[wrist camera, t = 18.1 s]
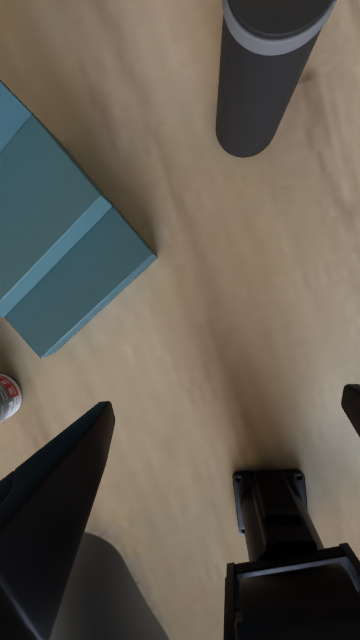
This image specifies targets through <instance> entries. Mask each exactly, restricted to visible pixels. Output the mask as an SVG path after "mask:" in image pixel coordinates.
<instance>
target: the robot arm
mask: <svg viewBox="0 0 360 640" xmlns="http://www.w3.org/2000/svg"><path fill="white" fill-rule="evenodd" d="M341 405H342V408H343V410H344V412H345V413H346V415H347V417H348V418H349V420H350V422H351V423H352V425H353V427H354V428H355V430H356V432H357V433H358V435H359V437H360V385H359V384H347V385H345V386H344V389H343V395H342V401H341ZM114 425H115V416H114V412H113V408H112V404H111V402H109V401H103V402H99V403H98V404H96V405H95V406H94V407H93V408H91V409H90V410H89V411H88V412H86V413H85V414H84V415H83V416H81V417H80V418H79V419H77V420H76V421H75V422H74V423H72V424H71V425H70V426H69V427H67V428H66V429H65V430H64V431H62V432H61V433H60V434H59V435H57V436H56V437H55V438H54V439H52V440H51V441H50V442H49V443H47V444H46V445H45V446H44V447H42V448H41V449H40V450H39V451H37V452H36V453H35V454H34V455H32V456H31V457H30V458H29V459H27V460H26V461H25V462H24V463H22V464H21V465H20V466H18V467H17V468H16V469H15V471H12V472H11V473H10V474H8V475H7V476H6V477H5V478H3V479H2V480H1V481H0V640H49V639H50V636H51V633H52V630H53V627H54V624H55V621H56V618H57V615H58V611H59V608H60V605H61V602H62V599H63V596H64V593H65V590H66V586H67V583H68V580H69V577H70V574H71V571H72V568H73V565H74V562H75V559H76V556H77V553H78V549H79V546H80V543H81V540H82V537H83V534H84V531H85V528H86V525H87V522H88V518H89V515H90V512H91V509H92V506H93V503H94V500H95V497H96V494H97V491H98V487H99V484H100V481H101V478H102V475H103V472H104V469H105V465H106V462H107V458H108V453H109V448H110V444H111V439H112V434H113V430H114ZM298 475H300V476H299V477H297V476H298ZM232 477H233V485H234V494H235V502H236V510H237V519H238V527H239V532H240V534H242V535H245V537H246V543H247V549H248V555H249V561H250V562H244V563H239V564H234V563H228V564H227V577H225V606H224V640H360V561H359V560H358V558H357V557H356V555H355V554H354V552H353V551H352V549H351V548H350V546H349V545H348V543H343V544H339V546H337V547H331V548H324V546H323V544H322V542H321V540H320V537H319V535H318V533H317V531H316V529H315V527H314V525H313V522H312V520H311V518H310V516H309V514H308V510H307V498H306V486H305V476H304V474H303V472H302V471H301V470H297V469H295V470H268V471H241V472H235V473H233V476H232ZM237 477H239V479H237Z"/></svg>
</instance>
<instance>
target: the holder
mask: <svg viewBox="0 0 360 640" xmlns="http://www.w3.org/2000/svg"><path fill="white" fill-rule="evenodd" d="M335 3H336V0H222V6H223V25H222V41H221V56H220V71H219V86H218V101H217V116H216V135H217V139H218V141H219V143H220V145H221V146H222V148H223V149H224V150H225V151H226V152H228V153H229V154H231V155H233V156H236V157H250V156H254V155H256V154H258V153H259V152H261V151H262V150H264V149H265V148H266V147H267V146H268V145H269V143H270V142H271V140H272V139H273V137H274V134H275V132H276V130H277V128H278V125H279V123H280V121H281V119H282V116H283V114H284V112H285V110H286V107H287V105H288V103H289V101H290V98H291V96H292V94H293V92H294V89H295V87H296V85H297V83H298V80H299V78H300V76H301V73H302V71H303V69H304V67H305V64H306V62H307V60H308V58H309V55H310V53H311V51H312V49H313V46H314V44H315V42H316V40H317V37H318V35H319V33H320V31H321V28H322V26H323V25H324V24H325V22H326V21H327V19H328V17H329V15H330V14H331V11H332V9H333V7H334V5H335Z"/></svg>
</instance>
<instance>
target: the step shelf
mask: <svg viewBox="0 0 360 640" xmlns="http://www.w3.org/2000/svg"><path fill="white" fill-rule="evenodd" d="M157 258H158V257H157V255H156V254H155V253H154V252H153V251H152V249H151V248H150V247H149V246H148V245H147V244H146V242H145V241H144V240H143V239H142V238H141V237H140V235H139V234H138V233H137V232H136V231H135V229H134V228H133V227H132V226H131V225H130V224H129V222H128V221H127V220H126V219H125V218H124V216H123V215H122V214H121V213H120V212H119V211H118V209H117V208H116V207H115V206H114V205H113V204H112V202H111V201H110V200H109V199H108V198H107V196H106V195H105V194H104V193H103V192H102V191H101V189H100V188H99V187H98V186H97V185H96V184H95V182H94V181H93V180H92V179H91V178H90V176H89V175H88V174H87V173H86V172H85V171H84V169H83V168H82V167H81V166H80V165H79V163H78V162H77V161H76V160H75V159H74V158H73V156H72V155H71V154H70V153H69V152H68V151H67V149H66V148H65V147H64V146H63V145H62V143H61V142H60V141H59V140H58V139H57V138H56V137H55V136H54V135H53V134H52V133H51V132H50V131H49V130H48V129H47V128H46V127H45V126H44V125H43V124H42V123H41V122H40V120H39V119H38V118H37V117H36V116H35V115H34V114H33V113H32V112H31V111H30V110H29V109H28V108H27V107H26V106H25V105H24V104H23V103H22V102H21V101H20V100H19V99H18V98H17V97H16V96H15V95H14V94H13V93H12V92H11V90H10V89H9V88H8V87H7V86H6V85H5V84H4V83H3V82H2V81H1V80H0V317H5V319H6V320H7V321H8V322H9V323H10V324H11V325H12V326H13V328H14V329H15V330H16V331H17V332H18V333H19V334H20V336H21V337H22V338H23V339H24V340H25V341H26V342H27V344H28V345H29V346H30V347H31V348H32V349H33V350H34V352H35V353H36V354H37V355H38V356H39V357H40V358H43V357H46V356H48V355H51V354H53V353H55V352H56V351H57V350H58V349H60V348H61V347H62V346H63V345H64V344H65V343H66V342H67V341H68V340H69V339H70V338H71V337H72V336H74V335H75V334H76V333H77V332H78V331H79V330H80V329H81V328H82V327H83V326H84V325H85V324H87V323H88V322H89V321H90V320H91V319H92V318H93V317H94V316H95V315H96V314H97V313H98V312H99V311H101V310H102V309H103V308H104V307H105V306H106V305H107V304H108V303H109V302H110V301H111V300H112V299H114V298H115V297H116V296H117V295H118V294H119V293H120V292H121V291H122V290H123V289H124V288H125V287H126V286H128V285H129V284H130V283H131V282H132V281H133V280H134V279H135V278H136V277H137V276H138V275H139V274H141V273H142V272H143V271H144V270H145V269H146V268H147V267H148V266H149V265H150V264H151V263H152V262H153V261H155V260H156V259H157Z"/></svg>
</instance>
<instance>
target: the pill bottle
mask: <svg viewBox="0 0 360 640" xmlns="http://www.w3.org/2000/svg"><path fill="white" fill-rule="evenodd" d="M21 401H22V395H21V390H20V388H19V386H18V385H17V383H16V382H15V381H14V380H13V379H12V378H10V377H9V376H7V375H4V374H0V422H2V421H3V420H5V419H6V418H8V417H9V416H11V415H12V414H14V413H15V412H16V411H17V410H18V408H19V407H20V404H21Z"/></svg>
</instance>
